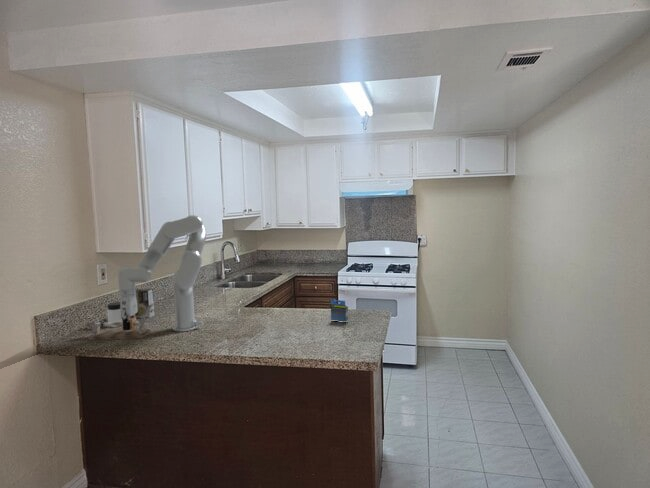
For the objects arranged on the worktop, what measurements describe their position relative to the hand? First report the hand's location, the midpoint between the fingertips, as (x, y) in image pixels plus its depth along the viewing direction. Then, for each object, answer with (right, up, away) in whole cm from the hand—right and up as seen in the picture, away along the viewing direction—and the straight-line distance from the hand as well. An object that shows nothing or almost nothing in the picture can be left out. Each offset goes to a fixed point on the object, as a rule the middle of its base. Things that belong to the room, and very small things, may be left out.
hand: (129, 327), depth 211 cm
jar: (-16, -3, +20) cm, 26 cm away
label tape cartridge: (+106, 0, +18) cm, 108 cm away
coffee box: (-8, -1, +38) cm, 39 cm away
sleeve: (0, 0, 0) cm, 0 cm away
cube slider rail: (-5, -4, 0) cm, 6 cm away
